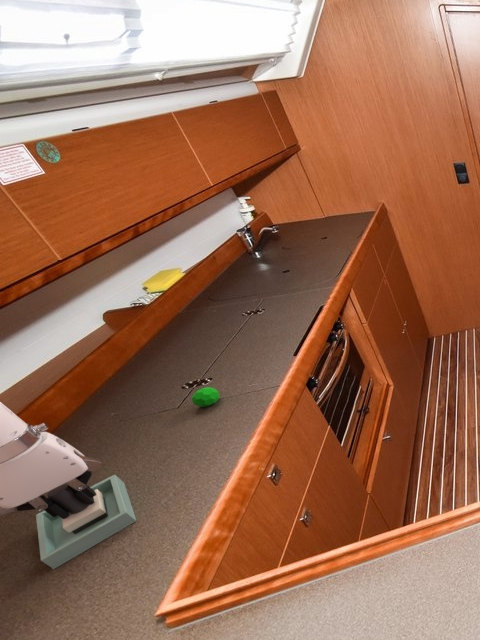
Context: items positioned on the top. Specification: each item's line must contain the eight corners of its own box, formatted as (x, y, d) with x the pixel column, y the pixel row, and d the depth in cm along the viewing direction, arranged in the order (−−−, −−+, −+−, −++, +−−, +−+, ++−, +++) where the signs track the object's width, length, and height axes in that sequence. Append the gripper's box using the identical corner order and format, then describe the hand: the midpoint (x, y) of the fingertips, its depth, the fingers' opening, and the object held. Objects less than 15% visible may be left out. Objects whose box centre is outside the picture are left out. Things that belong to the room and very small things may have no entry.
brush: (71, 515, 82) (37, 489, 78) (106, 496, 86) (75, 471, 81) (73, 536, 79) (38, 510, 74) (110, 516, 82) (78, 490, 78)
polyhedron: (209, 396, 111) (199, 384, 109) (228, 395, 111) (218, 383, 109) (193, 411, 107) (182, 398, 104) (212, 410, 107) (201, 397, 104)
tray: (47, 523, 82) (35, 514, 80) (124, 482, 89) (114, 474, 88) (53, 569, 74) (40, 560, 73) (136, 520, 82) (126, 512, 80)
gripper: (71, 408, 79) (134, 467, 88) (-80, 471, 68) (11, 530, 77) (74, 425, 75) (140, 485, 84) (-84, 495, 64) (12, 555, 73)
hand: (78, 506), depth 80 cm, fingers closed on brush, 2 cm apart
